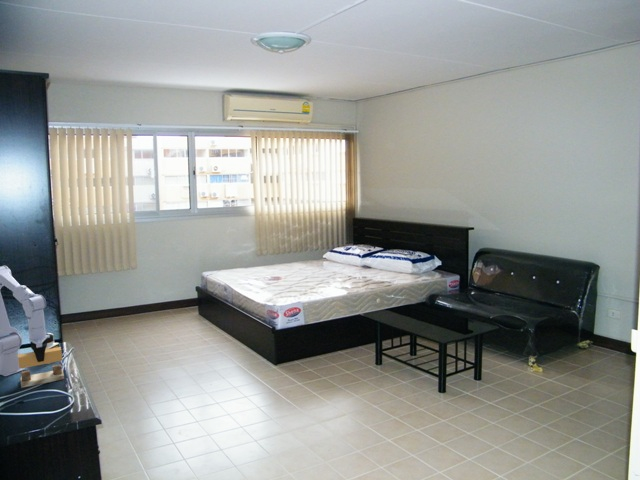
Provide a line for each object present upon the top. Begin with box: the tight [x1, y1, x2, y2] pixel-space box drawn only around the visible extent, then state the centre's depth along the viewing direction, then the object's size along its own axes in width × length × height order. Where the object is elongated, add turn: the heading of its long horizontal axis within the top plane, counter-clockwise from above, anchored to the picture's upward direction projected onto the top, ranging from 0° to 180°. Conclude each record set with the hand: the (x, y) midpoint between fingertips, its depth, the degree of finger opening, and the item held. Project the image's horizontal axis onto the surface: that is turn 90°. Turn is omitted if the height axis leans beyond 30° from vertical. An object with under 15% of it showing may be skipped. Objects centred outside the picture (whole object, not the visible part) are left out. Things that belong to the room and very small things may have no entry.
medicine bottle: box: [45, 332, 60, 365], centre depth 227 cm, size 7×7×12 cm
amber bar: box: [18, 346, 63, 369], centre depth 206 cm, size 15×4×4 cm, turn 121°
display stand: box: [20, 363, 65, 389], centre depth 207 cm, size 15×8×4 cm, turn 120°
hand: (40, 359), depth 206 cm, fingers closed on amber bar, 4 cm apart
